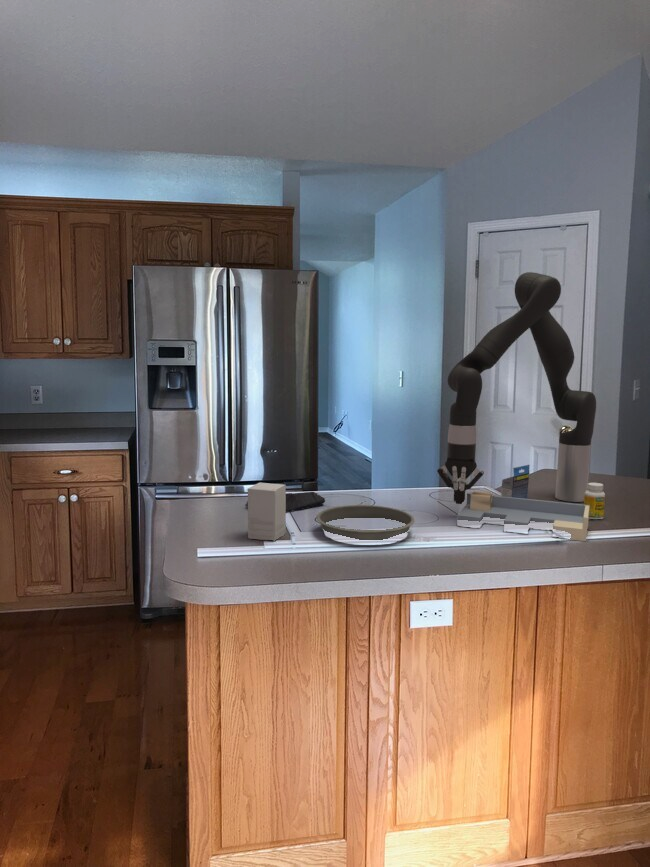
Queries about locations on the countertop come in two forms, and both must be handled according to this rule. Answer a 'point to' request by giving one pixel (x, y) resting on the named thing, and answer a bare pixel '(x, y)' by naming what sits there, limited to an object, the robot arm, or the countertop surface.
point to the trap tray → (534, 514)
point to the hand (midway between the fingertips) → (459, 503)
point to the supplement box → (266, 511)
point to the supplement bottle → (595, 500)
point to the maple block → (481, 501)
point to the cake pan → (365, 512)
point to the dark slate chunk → (301, 500)
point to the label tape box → (516, 483)
